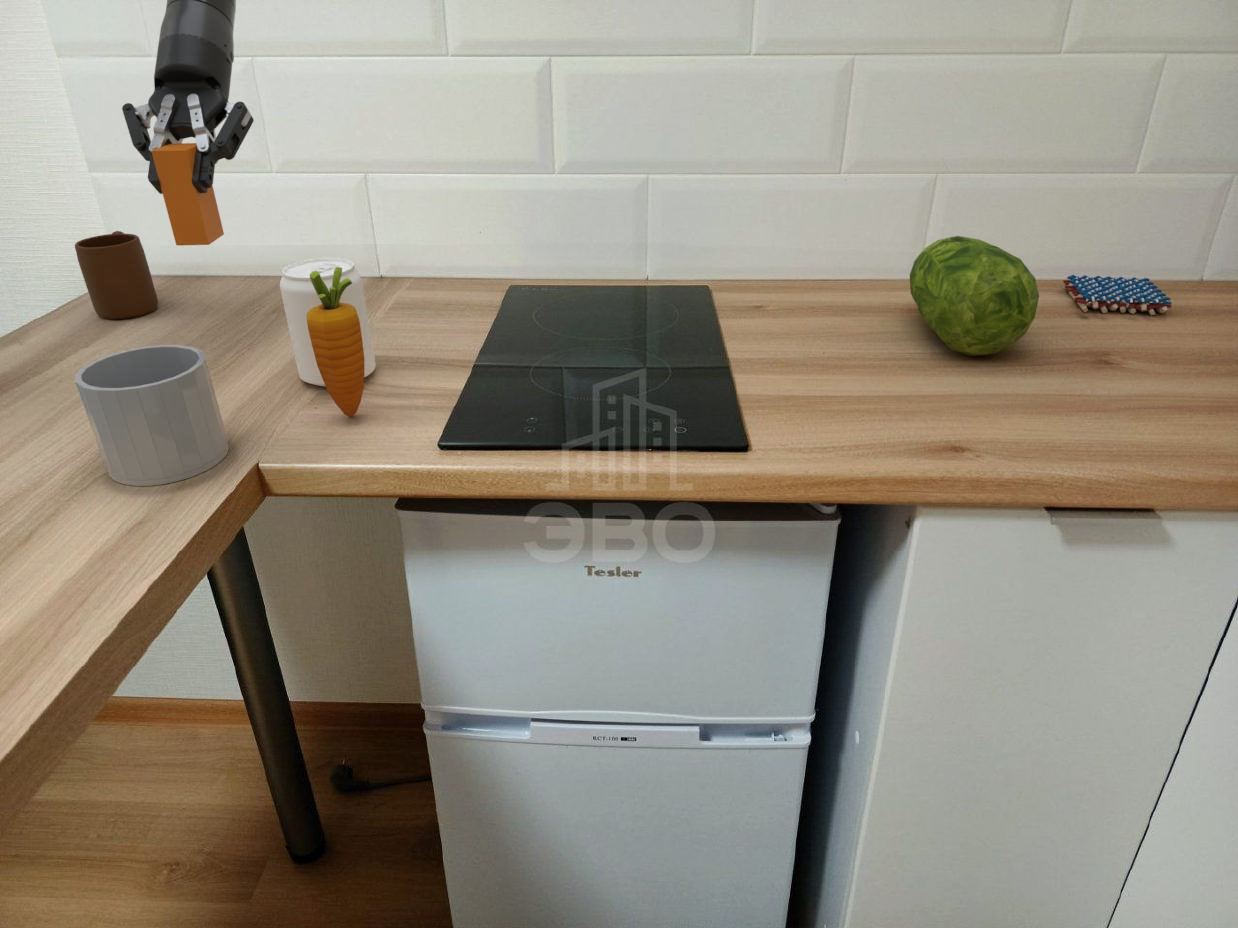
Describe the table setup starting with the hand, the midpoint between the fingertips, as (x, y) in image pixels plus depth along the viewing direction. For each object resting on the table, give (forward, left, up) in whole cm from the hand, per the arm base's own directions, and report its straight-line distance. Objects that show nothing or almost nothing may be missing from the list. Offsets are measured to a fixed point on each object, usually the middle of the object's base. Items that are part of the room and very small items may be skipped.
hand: (179, 188), depth 92 cm
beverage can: (+18, -1, -19) cm, 26 cm away
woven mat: (+97, +55, -19) cm, 113 cm away
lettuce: (+79, +36, -19) cm, 89 cm away
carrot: (+26, -9, -19) cm, 33 cm away
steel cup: (+16, -22, -18) cm, 33 cm away
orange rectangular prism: (-1, +2, -6) cm, 6 cm away
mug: (-24, +8, -19) cm, 31 cm away
